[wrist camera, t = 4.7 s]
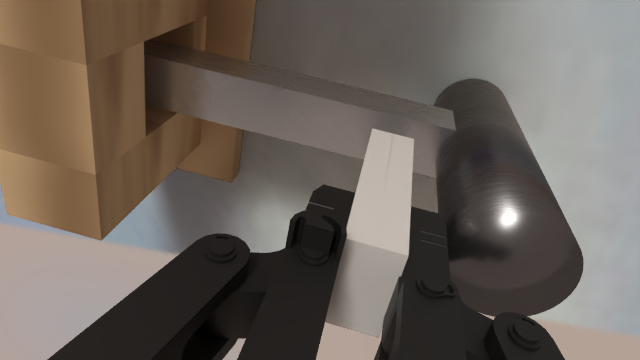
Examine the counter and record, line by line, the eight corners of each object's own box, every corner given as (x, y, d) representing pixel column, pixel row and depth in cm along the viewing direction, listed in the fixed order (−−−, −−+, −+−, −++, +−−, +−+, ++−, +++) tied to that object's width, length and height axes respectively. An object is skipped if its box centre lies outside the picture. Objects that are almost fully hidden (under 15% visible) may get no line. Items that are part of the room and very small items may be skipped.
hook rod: (134, 66, 25) (-67, 163, 15) (132, -3, 23) (-100, 53, 13) (492, 154, 23) (547, 331, 13) (520, 88, 22) (609, 234, 11)
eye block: (115, 140, 28) (-29, 240, 19) (99, -129, 21) (-141, -172, 12) (238, 173, 27) (150, 291, 18) (265, -94, 20) (143, -111, 11)
